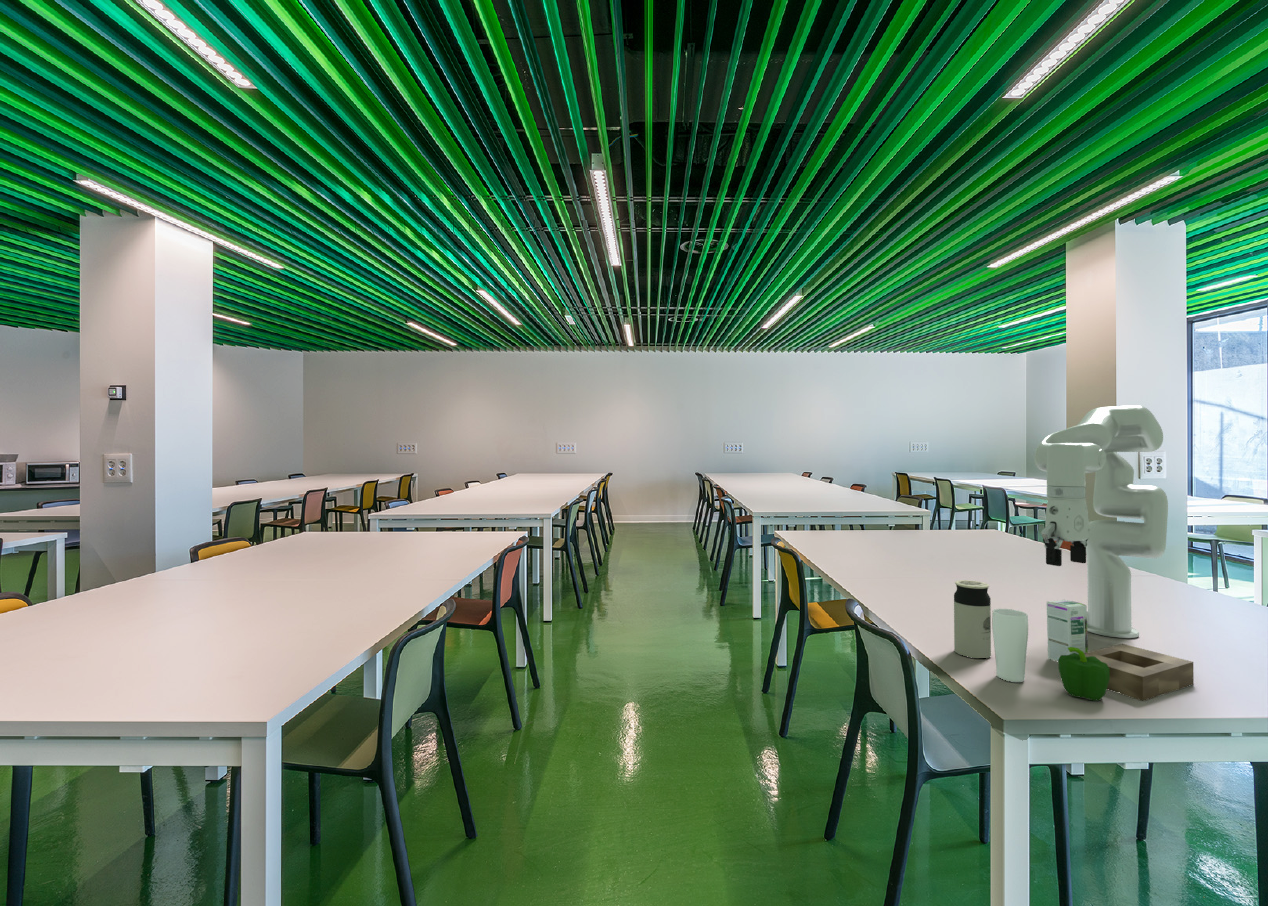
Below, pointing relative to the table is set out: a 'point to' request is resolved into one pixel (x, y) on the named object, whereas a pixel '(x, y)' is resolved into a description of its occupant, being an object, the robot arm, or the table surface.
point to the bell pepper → (1083, 675)
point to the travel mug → (972, 619)
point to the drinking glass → (1010, 643)
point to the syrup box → (1066, 628)
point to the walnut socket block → (1144, 671)
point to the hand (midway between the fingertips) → (1066, 563)
